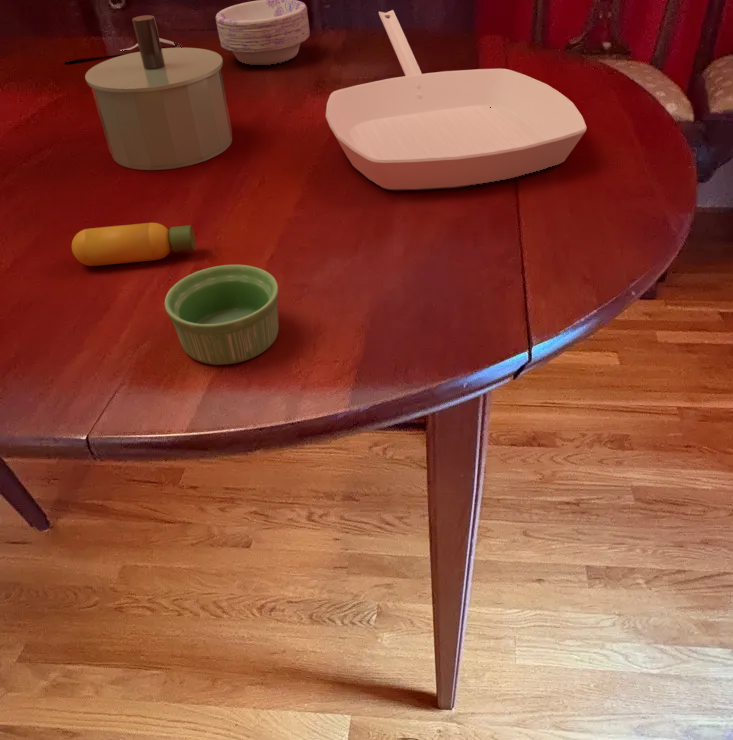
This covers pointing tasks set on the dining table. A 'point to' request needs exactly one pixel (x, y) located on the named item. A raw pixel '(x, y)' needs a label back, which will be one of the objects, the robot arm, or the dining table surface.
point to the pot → (166, 124)
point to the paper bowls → (263, 30)
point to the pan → (451, 124)
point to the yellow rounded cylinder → (130, 243)
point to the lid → (153, 64)
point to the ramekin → (225, 313)
